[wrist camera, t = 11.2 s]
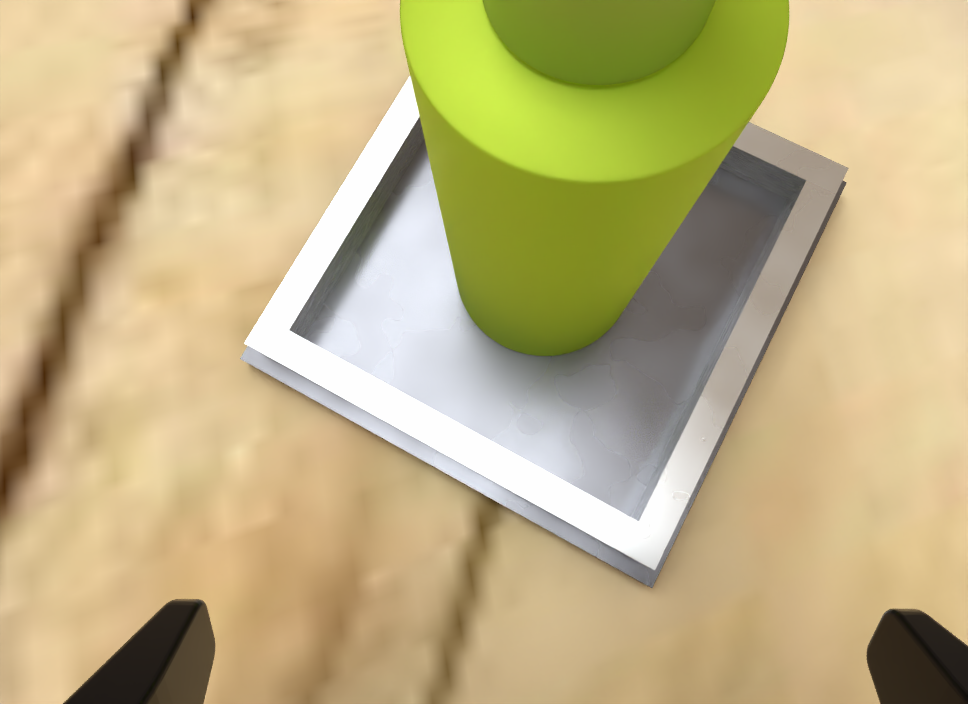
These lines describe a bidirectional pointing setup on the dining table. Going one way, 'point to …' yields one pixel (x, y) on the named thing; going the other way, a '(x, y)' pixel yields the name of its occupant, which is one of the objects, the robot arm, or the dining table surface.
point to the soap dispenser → (577, 143)
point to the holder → (549, 379)
